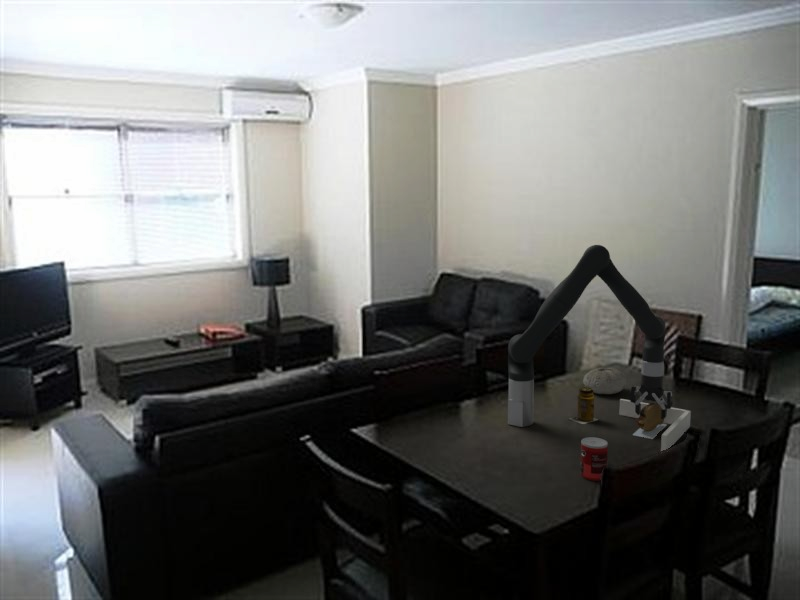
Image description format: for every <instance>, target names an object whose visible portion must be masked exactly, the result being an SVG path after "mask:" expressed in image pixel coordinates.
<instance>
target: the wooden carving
mask: <svg viewBox="0 0 800 600" xmlns="http://www.w3.org/2000/svg"><path fill="white" fill-rule="evenodd" d="M661 409H662V408H661V406H660V405H659V404H658V403H657V402H656V403H655V402H649V404H648V405H646V406H645V407H643V408H642V409H641V412H640V416H639V418H635V419H634V422H636V423H637V424H636V427H637V428H638V429H639V428H641V429H643V430H645V431H651V430H653V429H655V428H656V427H657V426H658V425H661V424H664V423H663V422H664V419H661Z"/></svg>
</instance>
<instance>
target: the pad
mask: <svg viewBox="0 0 800 600" xmlns="http://www.w3.org/2000/svg"><path fill="white" fill-rule="evenodd" d="M667 425H668V424H666V423H663V424H661V425H658V426H657V427H656V428H655V429H653V430H651V431H645V430H643V429H641V428H639V427H638V429H637V430H635V432H634V433H633V434H632V436H634V437H640V438H643V437H644V438H643V439H649V440H653V439H655V437H656V436H657V434H658V433H659V432H660V431H661V432H662V431H663V429H665V428H667ZM661 432H660V433H661ZM660 433H659V434H660ZM659 434H658V435H659Z"/></svg>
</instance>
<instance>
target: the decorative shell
mask: <svg viewBox="0 0 800 600" xmlns="http://www.w3.org/2000/svg"><path fill="white" fill-rule="evenodd" d="M582 378H583V381H582V383H583V384H584V387H589V388H592V389H593V394H596V395H597V394H598V395H614V394H618V393H619V392H621V391H623V390H624V388H626V386H627V385H628V380H627V377H626V375H625V374H624V373H623V372H622V371H620V370H619V369H616V368H614V367H613V368H612V367H596V368H593V369H591V370H590V371H588V372H586V373H585V375H584V376H582Z"/></svg>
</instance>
